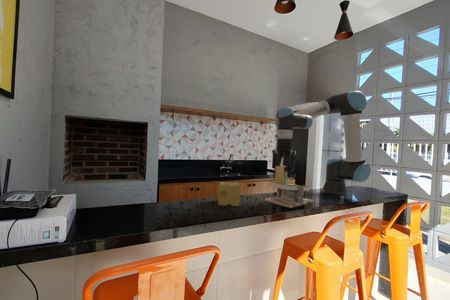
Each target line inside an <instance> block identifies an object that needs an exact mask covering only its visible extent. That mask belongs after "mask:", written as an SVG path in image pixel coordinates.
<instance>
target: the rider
mask: <svg viewBox="0 0 450 300" xmlns="http://www.w3.org/2000/svg"><path fill="white" fill-rule="evenodd" d="M286 171H287V167H286V165H280V166H276V172H275V171H274V182H275V183H276V184H281V185H286V184H285V174H286ZM290 183H291V178H290V179H289V184H290Z"/></svg>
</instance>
